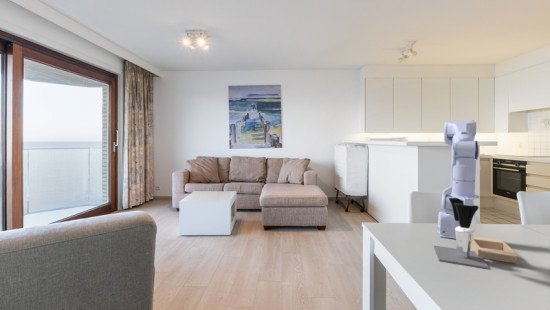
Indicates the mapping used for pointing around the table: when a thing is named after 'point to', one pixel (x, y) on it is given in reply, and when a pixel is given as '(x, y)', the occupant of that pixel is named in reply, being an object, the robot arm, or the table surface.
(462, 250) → the milkshake
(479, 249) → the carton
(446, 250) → the mat
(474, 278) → the table surface
